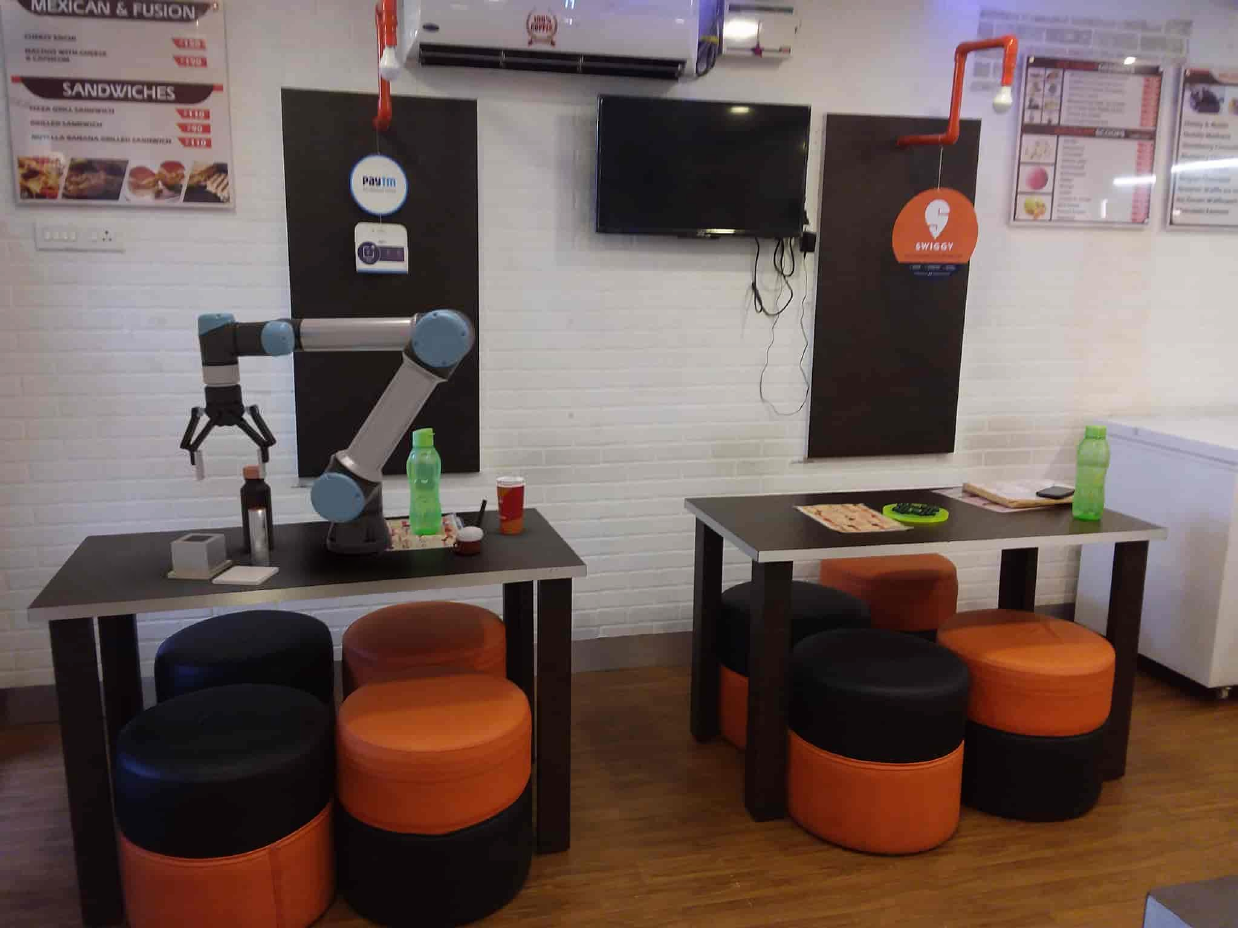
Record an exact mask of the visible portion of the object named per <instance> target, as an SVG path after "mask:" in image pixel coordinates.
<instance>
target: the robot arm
mask: <svg viewBox="0 0 1238 928" xmlns="http://www.w3.org/2000/svg"><path fill="white" fill-rule="evenodd" d="M197 331H198V332H197V337H198V341H199V351H200V352H199V353H200V359H201V371H202V378H203V381H202V382H203V384H204V385H205V387H204V389H203V391H204V399H205V407H201V406H199V405H197V406H193V407H192V408H191V410H190V419H189V421H188V425H187V426H186V427H187V428H186V429H185V432H184V435H183V437H182V440H181V442H180V444H179V448H180V449H181V450H185V451H186V450H187V451H188V452H189V456H190V457H189V459H190V464H191V466H193V467H194V466H195V473H196V474H195V475H196V481H199V482H201V481H203V480H204V479H205V477H206V476H205V475H206V474H205V469H204V467H205V466H204V459H203V451H202V449H199V447H200V446H201V445H202V444H203V442H204V441H205V439H206V438H207V437H208V436H209V434H210V433H211V432H212V430H213V429H214V428H215V427H218V428H221V427H234V426H237V428H239V429H240V430H242V431H243V433H245V435H247V436H248V437H249V438H250V440H252V441H253V443H255V444H256V445H257V446H258V447H259V448H258V449H257V450H256V455H257V464H258V465H257V466H259V477H260V478H264V477H265V478H266V477H267V467H266V464H267V463H269V461H270V452H269V449H270V447H272V446H274V445H276V444H277V440H276V438H275V436H274V435H273V433H272V432H271V430H270V429H269V427H268V425H267V424H266V421H265V420H264V419H263V417H262V416H261V414H260V411H259V410H260V409H259V405H258V404H256V403H255V404H252V405H247V406H245V405H244V403H243V396H242V395H243V393H242V385H241V384H240V381H241V374H240V365H239V357H240V358H243V357H274V358H277V357H281V356H284V357H285V356H289V355H291V354H292V353H294V352H348V351H349V352H359V351H360V352H363V351H366V352H367V351H369V352H372V351H374V352H375V351H381V352H382V351H383V352H385V351H390V352H391V351H401V353H402V357H403V363H402V364H401V366H400V367H399V369H398V371H397V372H396V373H395V375H394V377H393V378H392V380H391V381H390V383H389V384H388V386H387V387H386V389H385V391H384V392H383V393H382V395H381V397H380V398H379V400H378V401H377V403H376V405H374V407H373V409H372V410H371V412H370V413H369V415H368V417H367V418H366V420H365V422H364V423H363V424H362V426H361V428H360V429H359V430H358V432H357V433H356V435H355V437H354V438H353V440H352V442H351V443H350V444H349V446H348V448H347V449H343V450H339V451H337V452H336V453H334V454H332V455H331V456H330V462H329V464H328V466H327V467H326V469H325V470H324V472H323V474H322V475H320V476H319V477H317V478H316V480H314V482H313V485H312V486H311V490H310V502H311V505H312V507H313V509H314V511H315V512H316V513H317V514H318V515H319V517H321V518H323V519H324V520H326V521H328V522H331V524H330V528H329V531H328V535H327V538H326V539H327V540H326V541H327V542H326V545H327V546H326V547H327V550H328V551H330V552H333V553H335V554H343V555H364V554H371V553H377V552H381V551H384V550H386V549H388V548H390V547H391V546H392V543H393V542H392V534H391V531H390V528H389V526H388V523H387V520H386V517H385V515H384V507H383V506H384V505H383V503H384V502H383V484H382V483H383V482H382V481H383V473H382V468H383V467H384V466H385V464H386V462H387V461H388V460H389V458H390V456H391V455H392V453H393V452H394V450H395V449H396V447H397V445H398V444H399V443H400V440H402V438H403V436H404V435H405V433H406V432H407V431H408V429H409V427H410V425H411V424H412V423H413V421H414V419H415V418H416V417H417V415H418V413H419V412H420V411H421V409H422V407H423V406H424V404H425V403H426V401H427V400H428V398H429V397H430V395H431V393H432V392H433V391H434V389H435V388H436V386H437V385H438V384H439V383H443V382H447V381H449V379H450V377H451V376H452V374H453V373H454V371H455V370H456V368H457V367H458V365H459V363H460V362H461V361H462V359H463V358H464V357H465V356H466V355H467V354H468V353H470V351H471V350H472V348H473V347H474V343H475V340H476V331H475V327H474V324H473V322H472V321H471V319H470V318H469V317H468V316H467V315H466V314H465V313H464V312H462V311H459V310H457V309H453V308H445V309H436V310H432V311H429V312H417V313H415V314H414V315H413V316H412V317H354V318H353V317H350V318H349V317H344V318H341V317H340V318H338V317H337V318H288V317H284V318H278V319H272V320H264V321H249V322H248V321H247V322H241V321H240V322H239V321H236V320H235V316H234V314H232V313H228V312H227V313H225V312H224V313H223V312H220V313H219V312H218V313H203V314H201V315H199V316H198V318H197ZM245 413H246V414H247V415H249V417H251V419H252V420H253V423H254V424H255V426H256V427H257V429H258V430H259V432H260V433H261V435H262V436H261V435H260V433H258V432H257V431H256V430H255V428H253V426H252V425H250V424H249V422H248V421H247V419H245V418H244V415H245ZM204 414H205V415H206V417H208V419H209V420H208V421H207V422H206V423H205V424H204V427H203V428H202V429H201V431H200V432H199V433H198V435H197V437H196V438H195V439H194V440H193V437H194V435H195V432H196V430H197V429H198V428H197V427H198V425H199V422H200V420H201V418H202V417H203V416H204ZM192 440H193V441H192ZM191 442H192V443H191ZM265 478H264V479H265Z"/></svg>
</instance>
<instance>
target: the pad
mask: <svg viewBox="0 0 1238 928" xmlns="http://www.w3.org/2000/svg"><path fill="white" fill-rule="evenodd" d="M278 572H279V567H277V566H276V567H274V566H264V567H253V566H246V565H235V566H232V567H231V568H230V569H228V570H227V571H225V572H223V573H221V574H220V575H218V576H216V577H215V578H214V579H212V584H214V585H215V584H217V585H218V584H219V585H237V586H238V585H240V586H241V585H244V586H259V585H261V584H262V583H263V582H265V581H266V580H267V579H269V578H271V577H272V576H273V575H275V574H277V573H278Z"/></svg>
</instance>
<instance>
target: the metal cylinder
mask: <svg viewBox="0 0 1238 928" xmlns="http://www.w3.org/2000/svg"><path fill="white" fill-rule="evenodd" d="M248 511H249V525H250V539H251V552H250V553H251V565H252V566H251V567H268V566H269V565H270V555H269V553H270V552H269V551H268V539H267V524H266V509H265V508H263V507H256V508H251V509H249V510H248Z"/></svg>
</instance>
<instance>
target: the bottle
mask: <svg viewBox="0 0 1238 928" xmlns="http://www.w3.org/2000/svg"><path fill="white" fill-rule="evenodd" d="M242 475H243V480H244V484H243V485H242V486H241V487H240V489H239V494H240V495H239V498H240V508H241V520H242V521H241V522H242V523H241V525H242V534H243V535H242V536H243V549H244V551H245V552H248V553H251V539H250V525H249V511H248V510H249V509H251V508H256V507H263V508H265V509H266V524H267V539H268V552H269V551H271V550H273V549H274V548H275V537H274V536H275V535H274V520H273V505H272V504H273V503H272V490H271V486H270V485H269V484H267V482H266V481H265V479H266V477H264V478H260V477H259V466H258V465H248V466H244V467H242Z"/></svg>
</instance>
